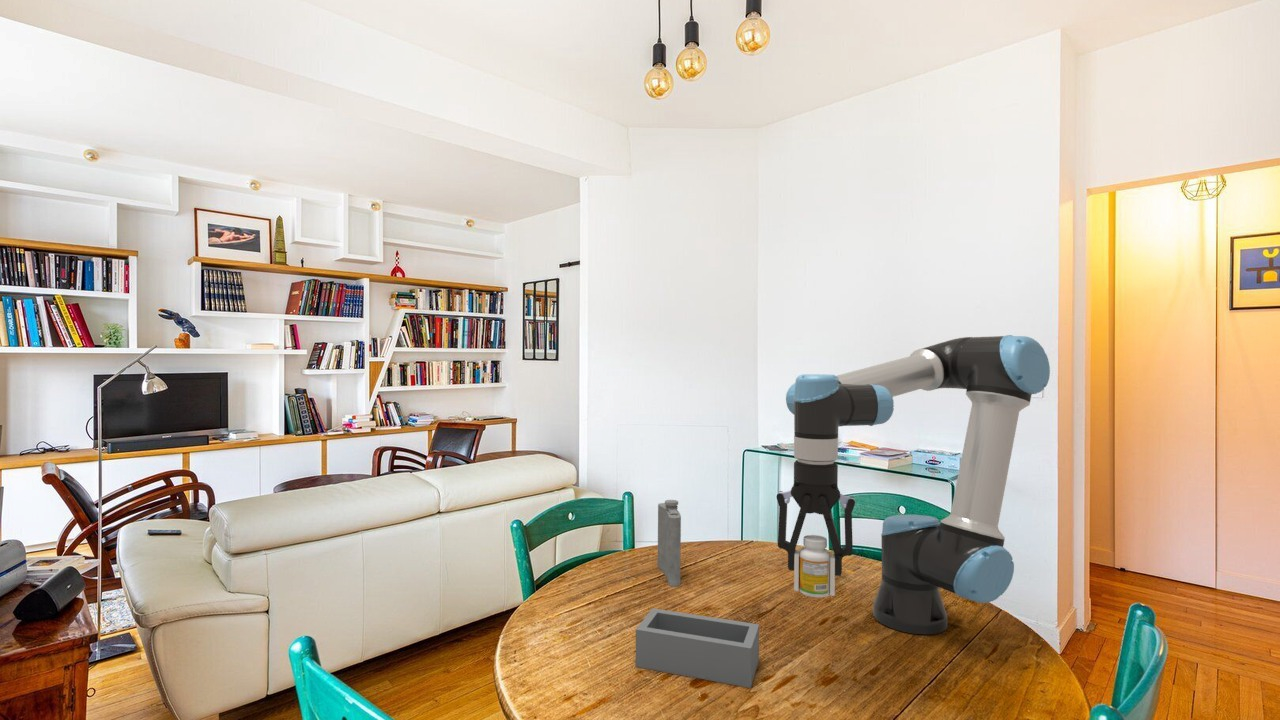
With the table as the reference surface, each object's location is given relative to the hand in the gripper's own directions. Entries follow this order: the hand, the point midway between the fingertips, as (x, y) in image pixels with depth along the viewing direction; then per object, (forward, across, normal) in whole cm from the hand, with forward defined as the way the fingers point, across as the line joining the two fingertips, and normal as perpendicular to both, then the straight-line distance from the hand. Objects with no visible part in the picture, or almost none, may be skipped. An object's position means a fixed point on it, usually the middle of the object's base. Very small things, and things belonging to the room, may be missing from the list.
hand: (814, 590), depth 107 cm
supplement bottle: (+1, 0, 0) cm, 1 cm away
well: (+17, +21, 0) cm, 27 cm away
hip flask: (+17, +39, -43) cm, 61 cm away
